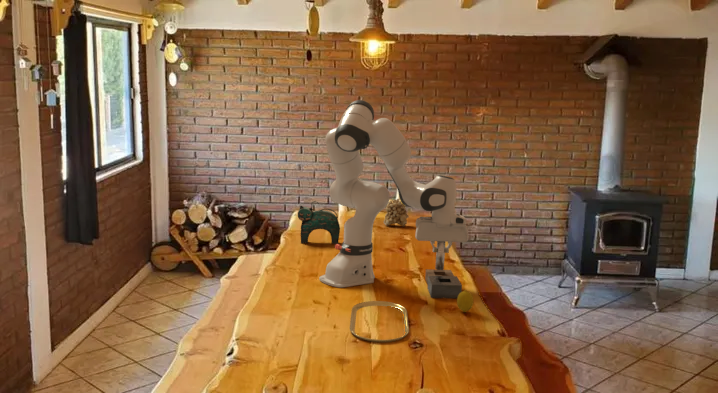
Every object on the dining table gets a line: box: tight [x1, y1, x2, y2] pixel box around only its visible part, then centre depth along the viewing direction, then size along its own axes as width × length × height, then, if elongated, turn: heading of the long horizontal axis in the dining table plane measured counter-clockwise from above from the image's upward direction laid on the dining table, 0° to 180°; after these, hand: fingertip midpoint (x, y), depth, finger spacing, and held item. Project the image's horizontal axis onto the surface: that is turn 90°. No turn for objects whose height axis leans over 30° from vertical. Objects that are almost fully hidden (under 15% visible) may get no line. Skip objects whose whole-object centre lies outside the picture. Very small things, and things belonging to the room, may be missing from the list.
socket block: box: [424, 268, 455, 286], centre depth 267 cm, size 10×10×4 cm
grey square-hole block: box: [427, 275, 463, 299], centre depth 255 cm, size 11×11×5 cm
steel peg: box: [434, 241, 446, 270], centre depth 266 cm, size 3×3×11 cm
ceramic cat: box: [297, 200, 341, 245], centre depth 321 cm, size 20×6×20 cm, turn 92°
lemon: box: [456, 289, 474, 313], centre depth 236 cm, size 6×6×8 cm
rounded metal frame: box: [349, 300, 410, 343], centre depth 225 cm, size 19×35×2 cm, turn 178°
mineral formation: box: [383, 198, 410, 227], centre depth 361 cm, size 8×13×15 cm, turn 93°
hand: (440, 252), depth 266 cm, fingers closed on steel peg, 3 cm apart
